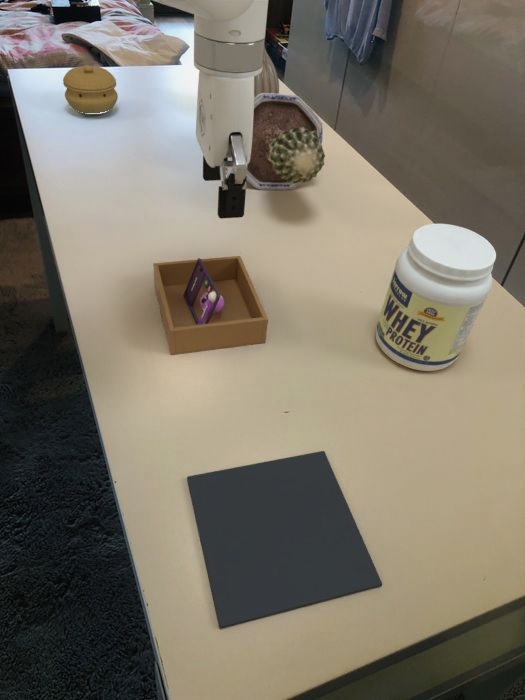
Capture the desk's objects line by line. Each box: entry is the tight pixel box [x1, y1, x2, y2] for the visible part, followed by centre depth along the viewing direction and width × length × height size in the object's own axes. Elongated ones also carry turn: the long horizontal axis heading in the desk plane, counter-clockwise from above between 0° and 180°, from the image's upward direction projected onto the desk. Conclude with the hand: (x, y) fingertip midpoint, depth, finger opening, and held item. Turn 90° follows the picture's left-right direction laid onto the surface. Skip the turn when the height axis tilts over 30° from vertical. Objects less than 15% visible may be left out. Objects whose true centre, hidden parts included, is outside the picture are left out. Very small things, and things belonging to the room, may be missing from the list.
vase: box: [254, 44, 280, 98], centre depth 129 cm, size 13×13×18 cm
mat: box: [186, 450, 383, 630], centre depth 57 cm, size 16×16×1 cm
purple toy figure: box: [184, 258, 224, 325], centre depth 79 cm, size 7×5×9 cm
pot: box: [62, 64, 119, 116], centre depth 127 cm, size 12×12×10 cm
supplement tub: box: [375, 223, 497, 372], centre depth 74 cm, size 12×12×17 cm
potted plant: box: [231, 93, 326, 191], centre depth 103 cm, size 18×18×30 cm
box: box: [152, 255, 269, 356], centre depth 79 cm, size 13×15×4 cm
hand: (222, 197), depth 71 cm, fingers open, 9 cm apart
